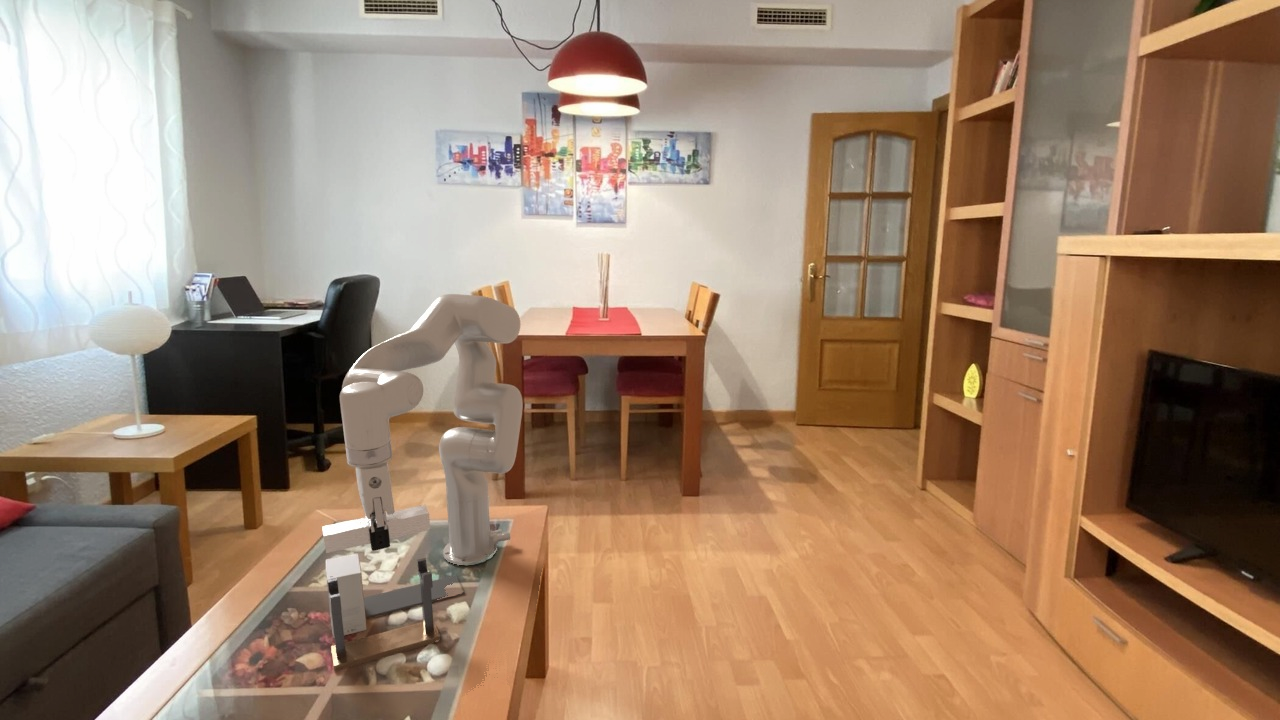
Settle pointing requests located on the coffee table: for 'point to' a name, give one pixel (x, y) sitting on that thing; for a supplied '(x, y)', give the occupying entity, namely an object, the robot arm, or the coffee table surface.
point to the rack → (385, 641)
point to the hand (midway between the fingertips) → (379, 541)
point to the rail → (358, 529)
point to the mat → (403, 598)
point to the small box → (348, 591)
